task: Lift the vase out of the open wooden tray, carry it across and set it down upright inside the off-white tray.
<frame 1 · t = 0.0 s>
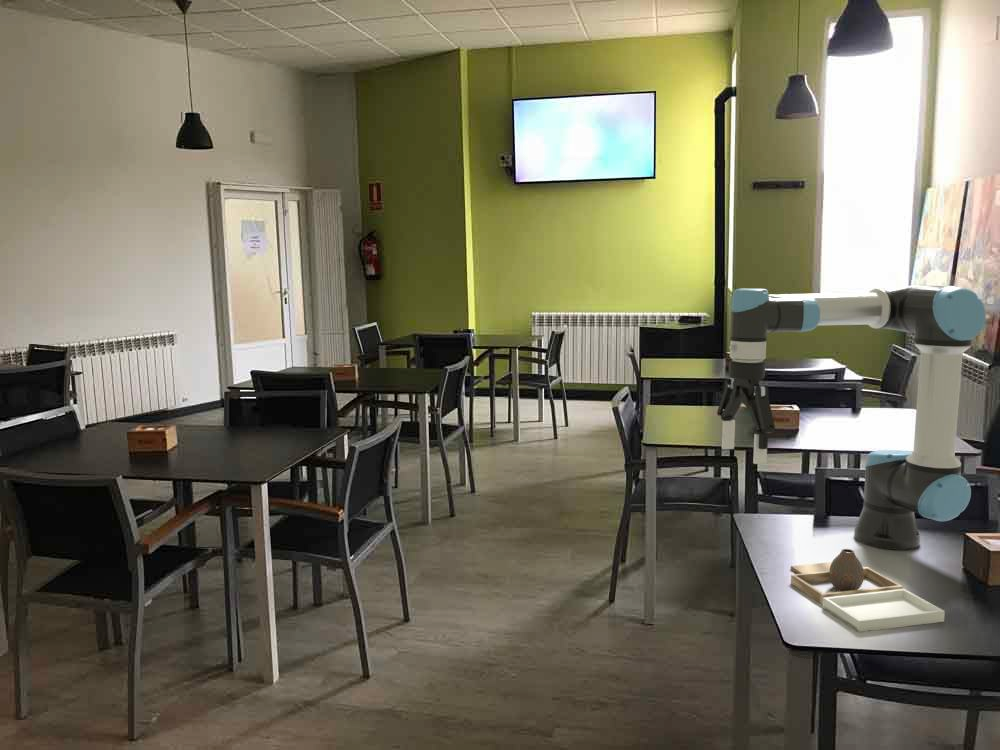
hand: (743, 455, 183), 28 cm above the table, fingers open, 13 cm apart
vase: (845, 590, 181), resting in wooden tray
off-white tray: (882, 614, 168), on the table
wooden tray: (845, 589, 181), on the table
crate lid: (825, 571, 191), on the table
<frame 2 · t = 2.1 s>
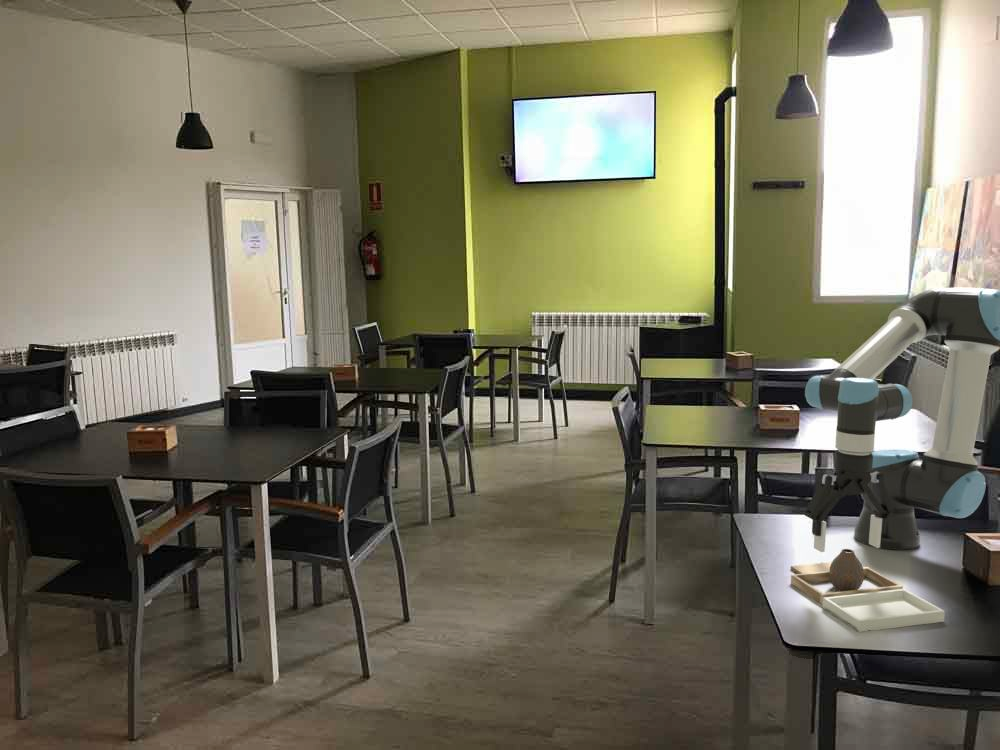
hand: (846, 548, 179), 9 cm above the table, fingers open, 13 cm apart
nothing on the table moved.
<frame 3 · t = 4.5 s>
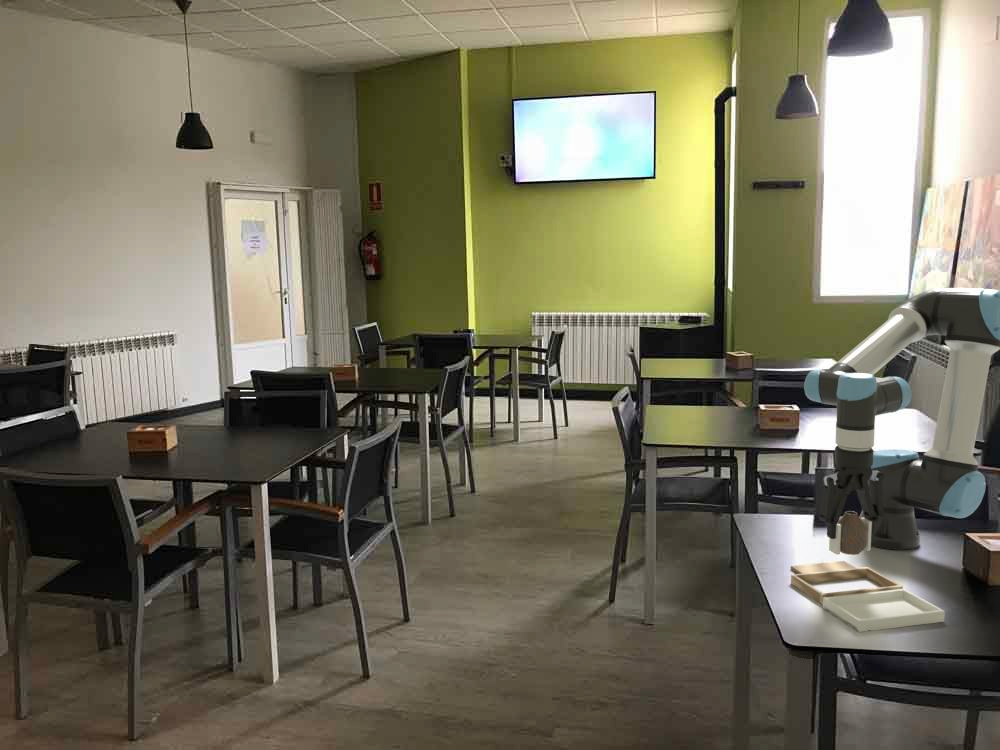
hand: (849, 550, 180), 9 cm above the table, fingers closed on vase, 7 cm apart
vase: (849, 552, 180), point 8 cm above the table, touching gripper
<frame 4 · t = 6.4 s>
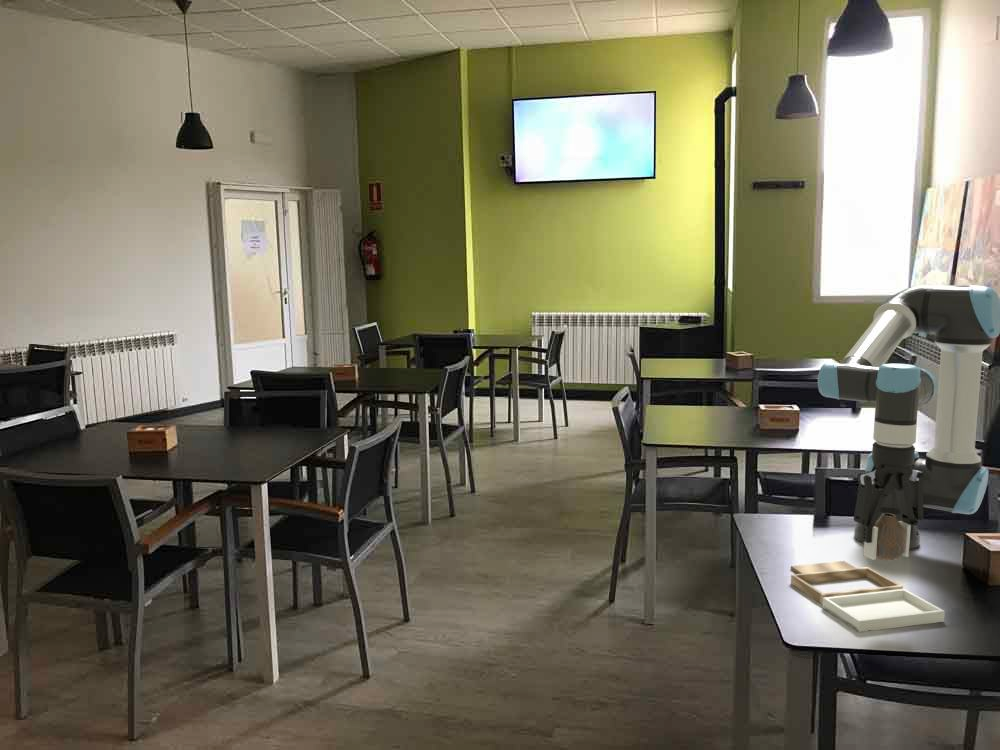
hand: (886, 555, 166), 12 cm above the table, fingers closed on vase, 7 cm apart
vase: (885, 558, 166), point 12 cm above the table, touching gripper
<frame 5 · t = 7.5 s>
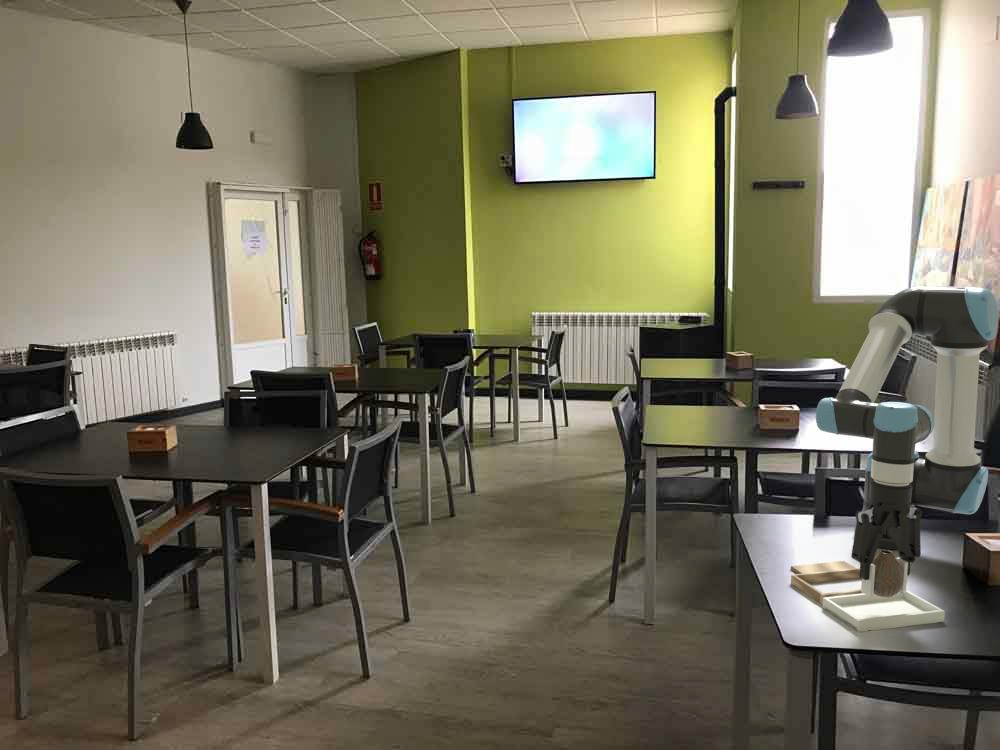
hand: (883, 592, 167), 5 cm above the table, fingers closed on vase, 7 cm apart
vase: (882, 594, 167), point 4 cm above the table, touching gripper
when the fingers open (2 cm above the table, at t = 8.5 s): vase drops 1 cm, resting on off-white tray.
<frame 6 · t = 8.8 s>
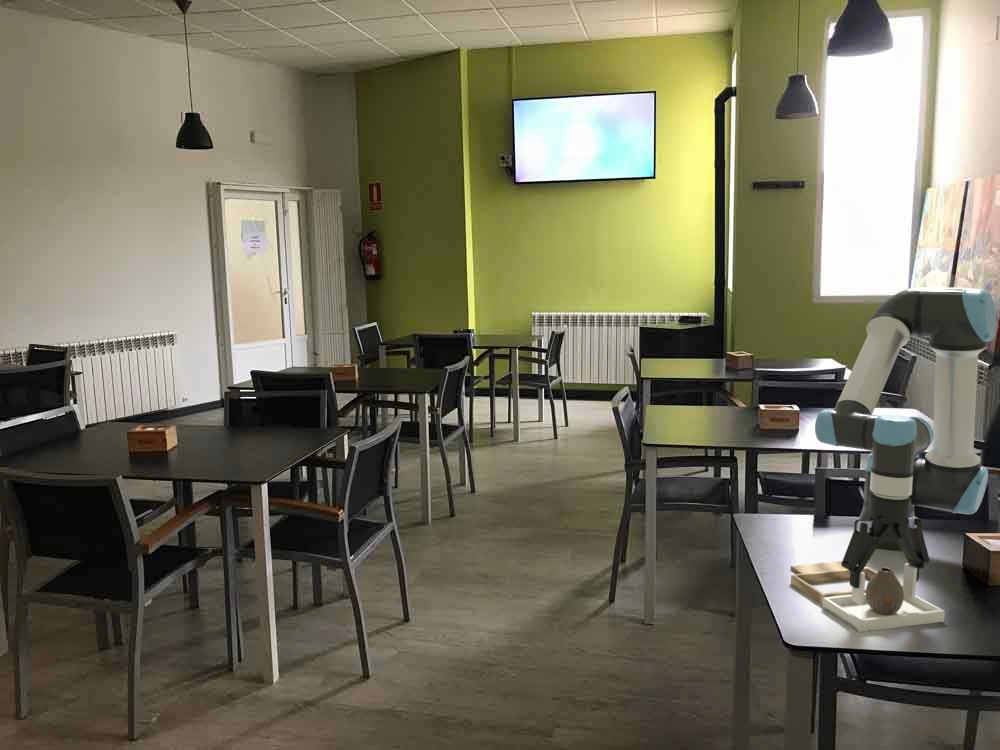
hand: (883, 599, 168), 3 cm above the table, fingers open, 11 cm apart
vase: (883, 612, 168), resting on off-white tray
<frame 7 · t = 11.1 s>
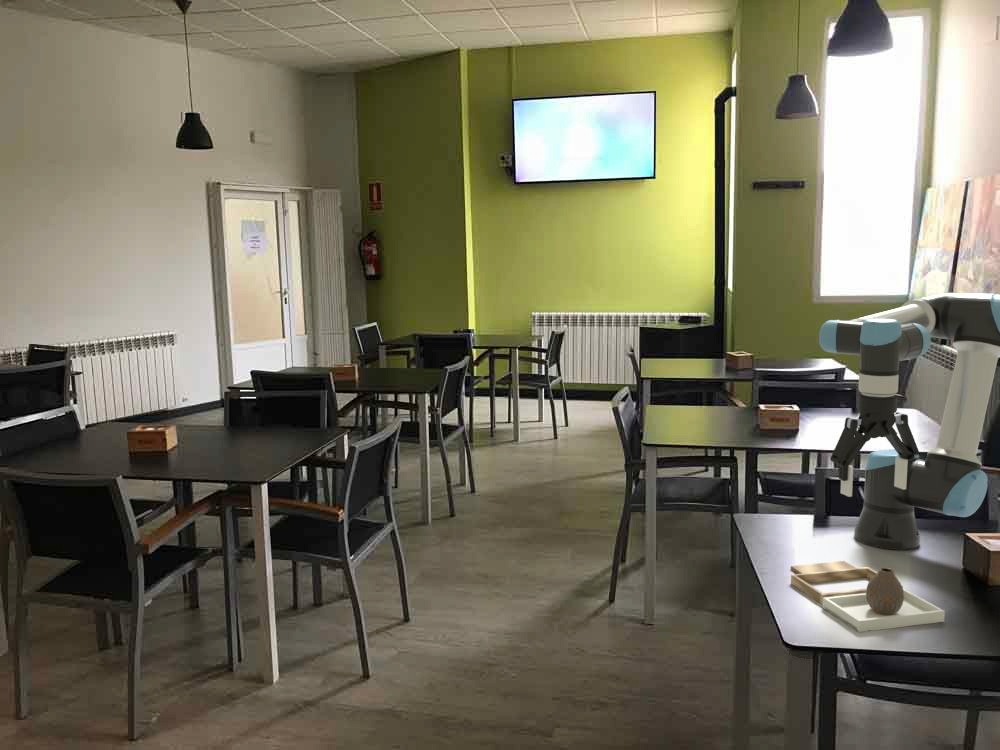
hand: (873, 491, 177), 22 cm above the table, fingers open, 13 cm apart
nothing on the table moved.
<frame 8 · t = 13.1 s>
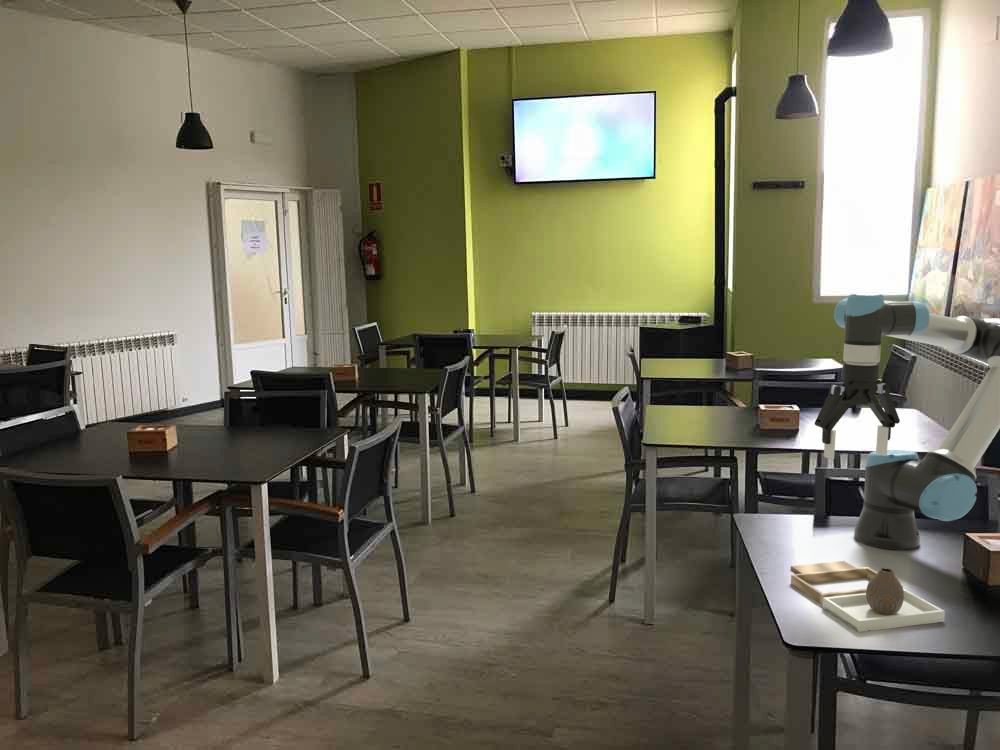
hand: (855, 456, 188), 27 cm above the table, fingers open, 13 cm apart
nothing on the table moved.
at the end: vase inside the target area on the off-white tray (0.4 cm from its centre), point 0.4 cm above the off-white tray's base; vase tilted 0°; the gripper is holding nothing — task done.
